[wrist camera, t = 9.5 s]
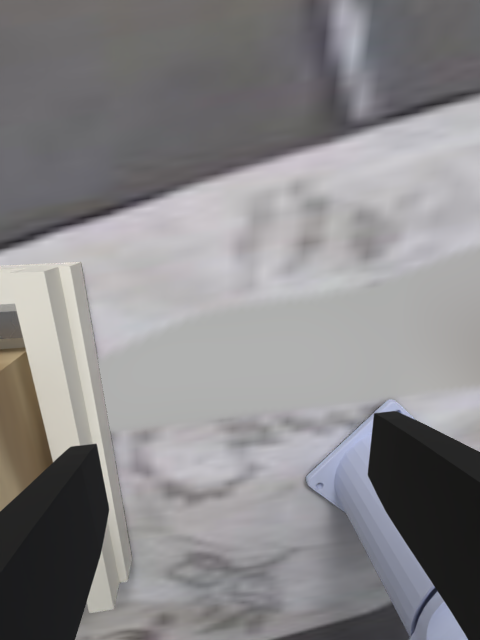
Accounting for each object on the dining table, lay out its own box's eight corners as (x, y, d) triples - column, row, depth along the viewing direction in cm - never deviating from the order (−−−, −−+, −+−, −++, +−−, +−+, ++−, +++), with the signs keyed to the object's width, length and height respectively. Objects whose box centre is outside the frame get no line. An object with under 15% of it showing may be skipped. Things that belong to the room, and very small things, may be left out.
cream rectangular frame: (132, 558, 22) (122, 607, 19) (-11, 579, 21) (-43, 634, 18) (80, 262, 16) (56, 270, 14) (-120, 271, 15) (-191, 282, 13)
